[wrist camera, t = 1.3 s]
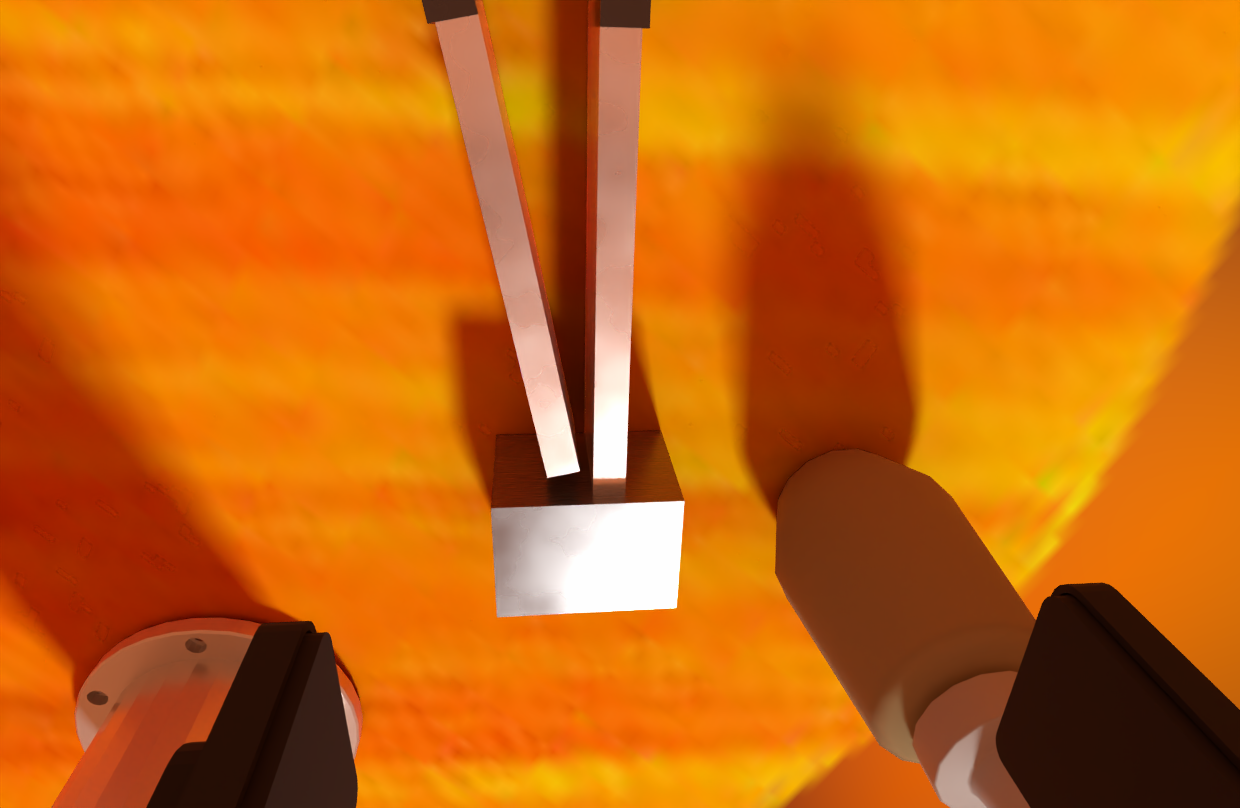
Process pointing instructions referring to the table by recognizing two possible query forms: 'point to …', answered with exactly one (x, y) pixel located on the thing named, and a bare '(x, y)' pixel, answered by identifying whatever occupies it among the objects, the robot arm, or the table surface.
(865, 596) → the squeeze bottle
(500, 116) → the tong arm
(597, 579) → the tong base
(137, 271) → the table surface
